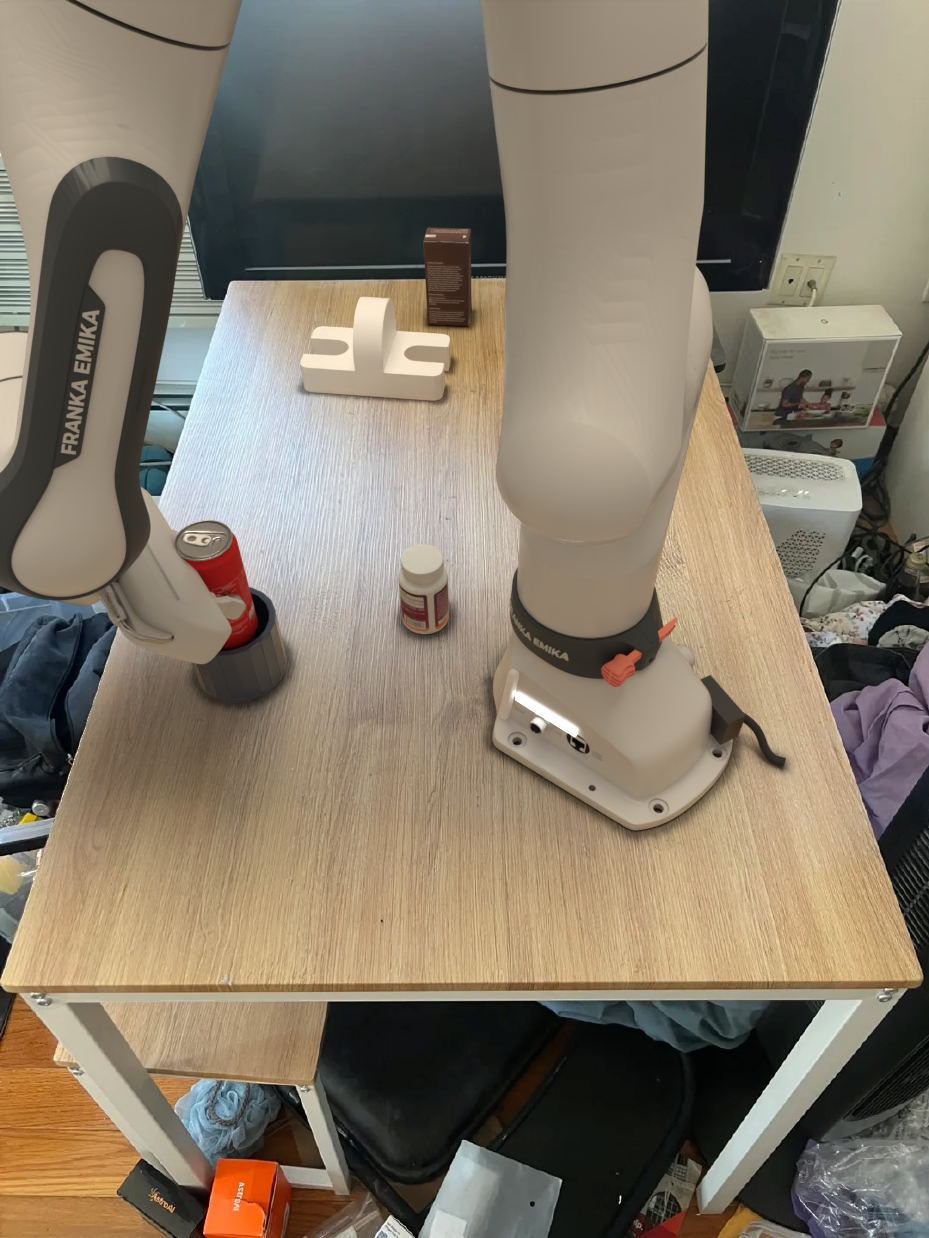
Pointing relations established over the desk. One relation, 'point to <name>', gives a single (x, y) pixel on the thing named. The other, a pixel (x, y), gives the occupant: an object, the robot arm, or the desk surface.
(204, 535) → the beverage can
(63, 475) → the robot arm
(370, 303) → the white u-slot block
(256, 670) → the faceted open cup
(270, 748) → the desk surface
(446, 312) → the box
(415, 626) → the pill bottle
